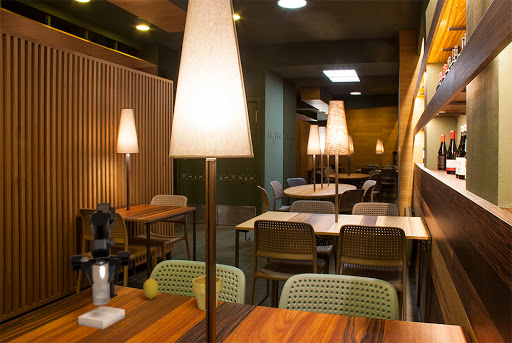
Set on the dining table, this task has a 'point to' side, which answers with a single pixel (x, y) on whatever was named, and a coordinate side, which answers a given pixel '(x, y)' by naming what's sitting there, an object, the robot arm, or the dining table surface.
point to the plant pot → (199, 290)
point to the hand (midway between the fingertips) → (100, 283)
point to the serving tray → (101, 317)
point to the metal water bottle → (100, 283)
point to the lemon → (150, 288)
